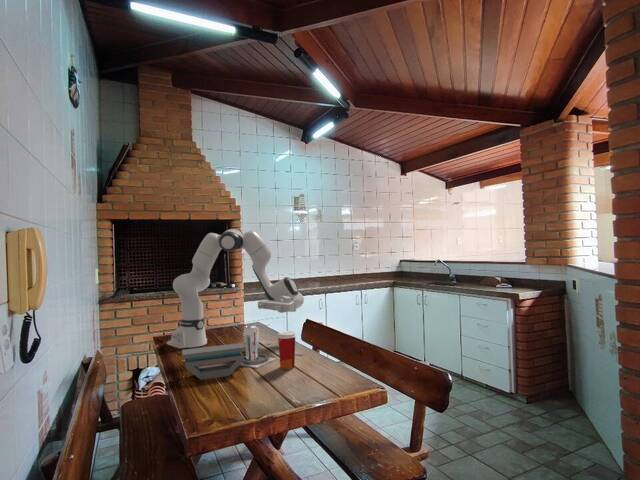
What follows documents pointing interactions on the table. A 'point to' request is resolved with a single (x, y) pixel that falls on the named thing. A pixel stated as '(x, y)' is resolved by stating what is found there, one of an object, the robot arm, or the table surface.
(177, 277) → the robot arm
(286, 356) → the coffee cup
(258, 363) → the steel ring collar
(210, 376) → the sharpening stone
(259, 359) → the pale board
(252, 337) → the steel tumbler
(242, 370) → the table surface
